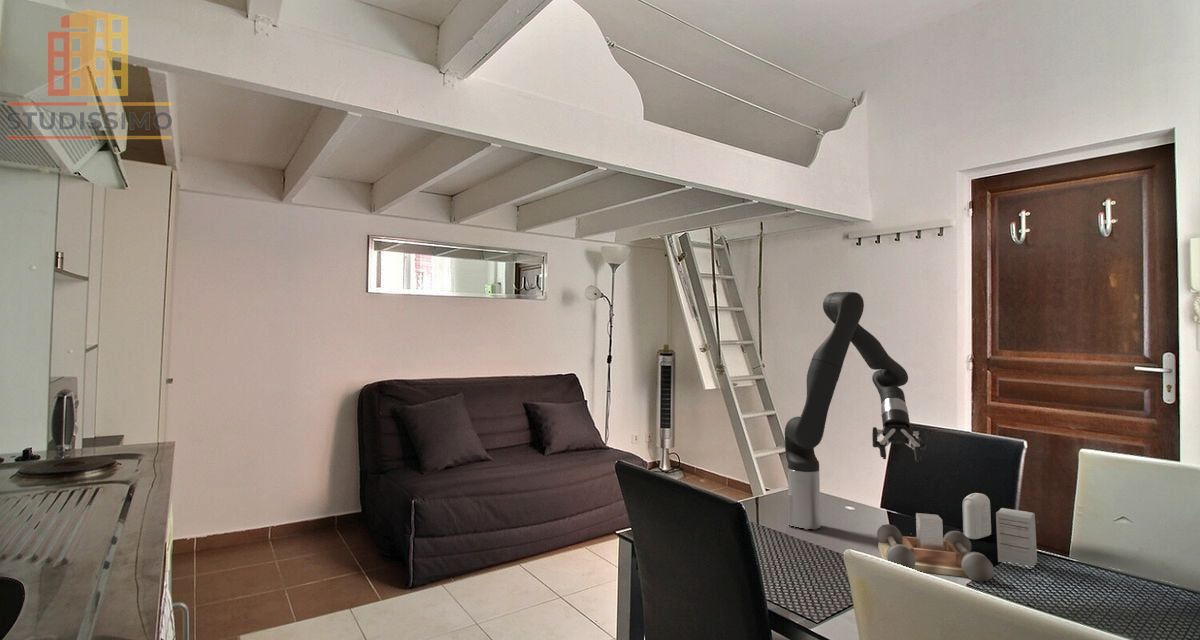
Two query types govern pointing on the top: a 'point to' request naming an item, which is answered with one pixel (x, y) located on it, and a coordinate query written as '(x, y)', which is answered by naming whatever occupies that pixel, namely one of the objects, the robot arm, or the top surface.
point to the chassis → (935, 554)
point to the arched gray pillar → (976, 516)
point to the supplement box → (1016, 537)
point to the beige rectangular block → (929, 531)
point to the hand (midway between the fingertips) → (901, 458)
